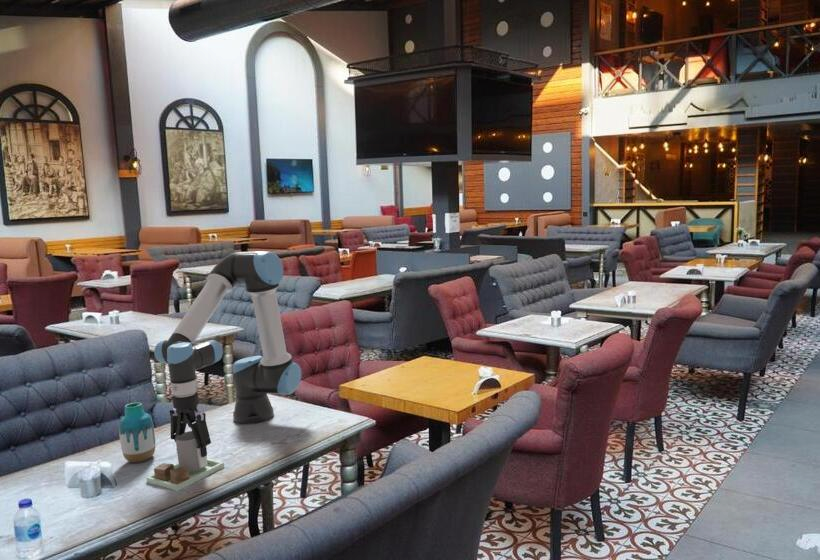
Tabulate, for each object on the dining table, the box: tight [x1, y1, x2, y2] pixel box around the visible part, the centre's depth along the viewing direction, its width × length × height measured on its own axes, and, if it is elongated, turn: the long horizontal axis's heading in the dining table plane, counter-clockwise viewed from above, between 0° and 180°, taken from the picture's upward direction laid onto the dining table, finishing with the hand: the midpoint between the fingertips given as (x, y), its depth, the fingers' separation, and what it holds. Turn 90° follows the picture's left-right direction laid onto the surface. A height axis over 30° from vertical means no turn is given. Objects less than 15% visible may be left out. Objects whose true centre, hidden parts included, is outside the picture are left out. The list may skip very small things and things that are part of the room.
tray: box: [145, 458, 225, 492], centre depth 206 cm, size 18×14×2 cm
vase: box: [118, 401, 156, 463], centre depth 220 cm, size 11×11×19 cm
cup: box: [175, 430, 207, 472], centre depth 208 cm, size 8×8×10 cm
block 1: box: [153, 462, 174, 482], centre depth 203 cm, size 4×4×4 cm
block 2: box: [170, 466, 189, 485], centre depth 200 cm, size 4×4×4 cm
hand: (193, 463), depth 208 cm, fingers closed on cup, 8 cm apart
